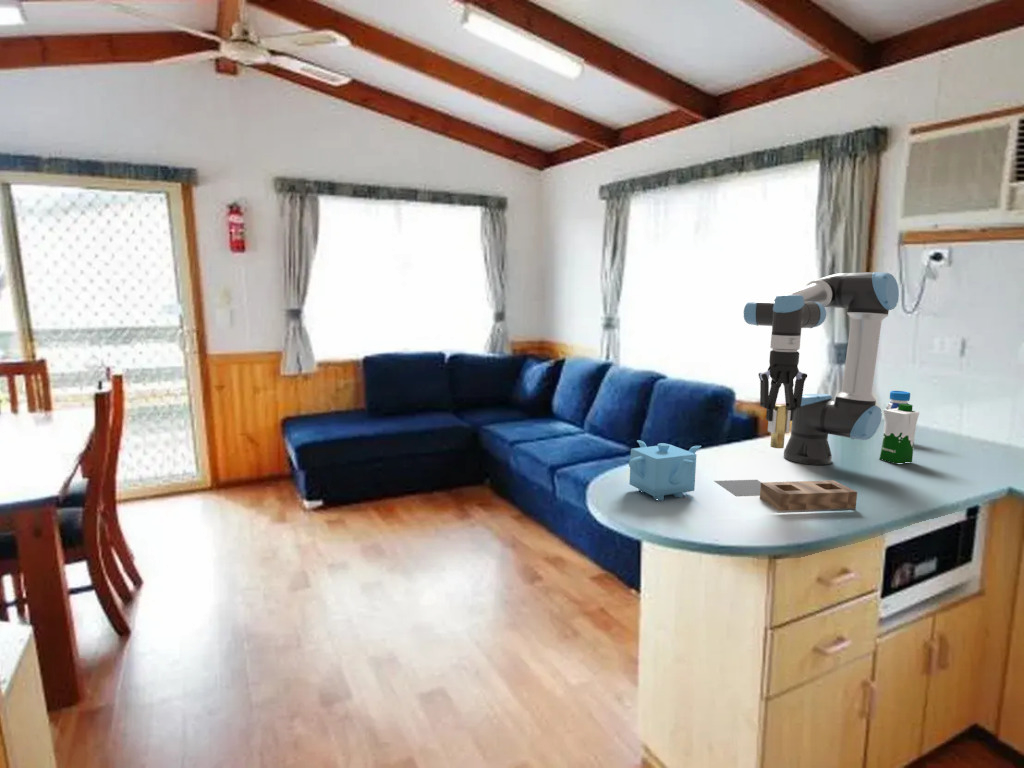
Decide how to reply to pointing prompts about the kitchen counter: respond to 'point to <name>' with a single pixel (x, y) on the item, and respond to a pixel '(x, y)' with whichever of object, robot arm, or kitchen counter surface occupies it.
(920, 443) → the kitchen counter surface
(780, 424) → the peg
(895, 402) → the beverage bottle
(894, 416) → the milk carton
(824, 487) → the hole block
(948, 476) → the kitchen counter surface
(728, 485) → the mat
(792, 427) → the robot arm
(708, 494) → the kitchen counter surface
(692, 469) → the teakettle
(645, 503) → the kitchen counter surface
